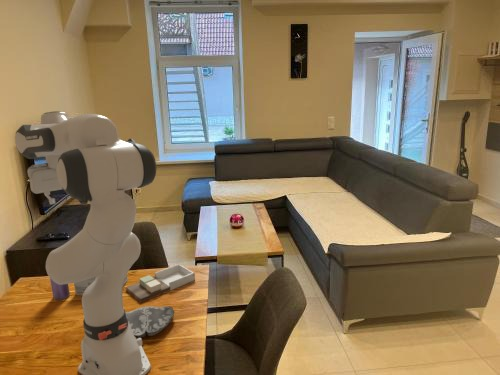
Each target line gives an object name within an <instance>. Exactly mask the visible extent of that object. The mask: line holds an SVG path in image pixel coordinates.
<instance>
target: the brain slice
mask: <svg viewBox="0 0 500 375" xmlns="http://www.w3.org/2000/svg"><path fill="white" fill-rule="evenodd" d="M125 312H126V315H127V320H128V322H129V324H130V327H131V329H135V332H136V333H135V334H134V336H135V337H136V338H145V337H146V336H149V337H153V336H155V335H157V334H159V333H161V332H162V331H163V330H165V329H166V328H167V326H168V325H169V324H170V323H171V321H172V319H173V318H174V315H175V310H174V308H173V307H172V306H168V305H167V306H153V305H151V306H150V305H148V306H140V307H138V308H136V309H134V310H131V311H125Z"/></svg>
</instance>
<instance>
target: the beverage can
mask: <svg viewBox="0 0 500 375" xmlns="http://www.w3.org/2000/svg"><path fill="white" fill-rule="evenodd" d="M49 281H50V286H51V291H52V292H51V293H52V297H53V299H54V300H56V301H62V300H65V299H67V298H69V297H70V287H69V284H63V285H59V284H57V283H55V282H54V281H52V280H51V279H50V278H49Z"/></svg>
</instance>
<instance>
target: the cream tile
mask: <svg viewBox="0 0 500 375" xmlns="http://www.w3.org/2000/svg"><path fill="white" fill-rule="evenodd" d="M146 289H147V290H148V291H150V292H151V293H152V292H155V291H157V290H160V289H161V283H160V282H158V281H157V280H153V281H150V282H148V283H146Z"/></svg>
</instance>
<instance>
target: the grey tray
mask: <svg viewBox="0 0 500 375" xmlns="http://www.w3.org/2000/svg"><path fill="white" fill-rule="evenodd" d="M154 275H155V277H157V278H158V279H159V280H161V281H162V282H164V283H165V284H167V285H168V286H170V291H172V290H175V289H178V288H180V287H183V286H185V285H187V284H189V283H192V282H195V280H196V277H195V276H196V275H195V272H194V271H192V270H190V269H189V268H187V267H186V266H183V265H182V264H180V263H177V264H175V265H172V266H169V267H167V268H164V269H161V270H158V271H156V272H154Z"/></svg>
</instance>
